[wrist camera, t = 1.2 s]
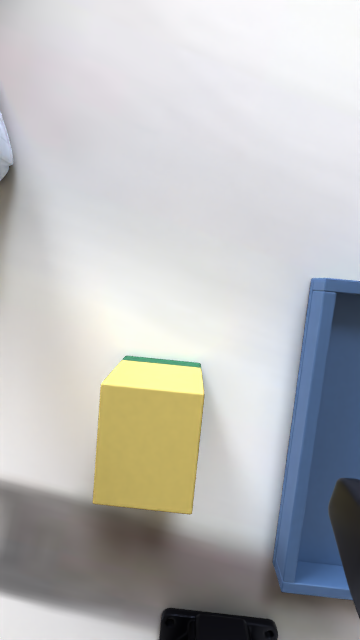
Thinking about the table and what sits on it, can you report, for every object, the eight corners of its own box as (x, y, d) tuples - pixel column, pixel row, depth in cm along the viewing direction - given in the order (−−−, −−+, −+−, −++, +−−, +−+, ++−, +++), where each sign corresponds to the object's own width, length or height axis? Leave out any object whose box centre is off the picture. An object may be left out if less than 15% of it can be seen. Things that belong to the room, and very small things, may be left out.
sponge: (191, 452, 19) (191, 515, 14) (118, 445, 19) (92, 504, 14) (200, 362, 18) (204, 393, 13) (125, 355, 18) (100, 383, 13)
